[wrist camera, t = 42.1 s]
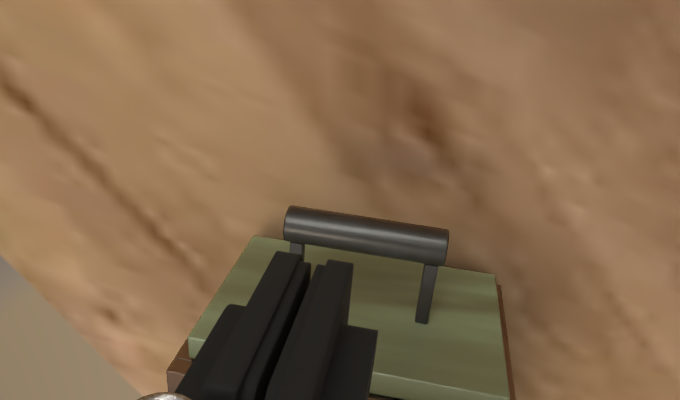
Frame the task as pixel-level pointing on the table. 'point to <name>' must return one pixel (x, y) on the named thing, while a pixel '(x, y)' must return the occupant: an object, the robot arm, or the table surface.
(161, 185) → the table surface
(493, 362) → the drawer
